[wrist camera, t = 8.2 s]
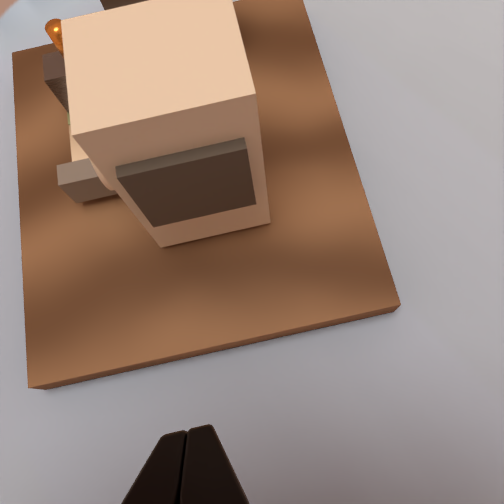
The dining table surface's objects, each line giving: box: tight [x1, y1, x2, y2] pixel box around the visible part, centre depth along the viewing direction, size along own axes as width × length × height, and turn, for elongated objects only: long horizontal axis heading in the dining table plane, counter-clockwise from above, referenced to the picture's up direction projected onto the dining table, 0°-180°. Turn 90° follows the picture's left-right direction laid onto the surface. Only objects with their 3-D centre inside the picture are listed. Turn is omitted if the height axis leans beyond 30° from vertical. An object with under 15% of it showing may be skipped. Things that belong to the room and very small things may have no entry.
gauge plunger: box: [57, 0, 271, 248], centre depth 17 cm, size 4×8×9 cm, turn 102°
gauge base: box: [12, 0, 401, 390], centre depth 21 cm, size 18×16×8 cm
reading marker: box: [42, 19, 69, 113], centre depth 22 cm, size 2×3×4 cm, turn 102°
